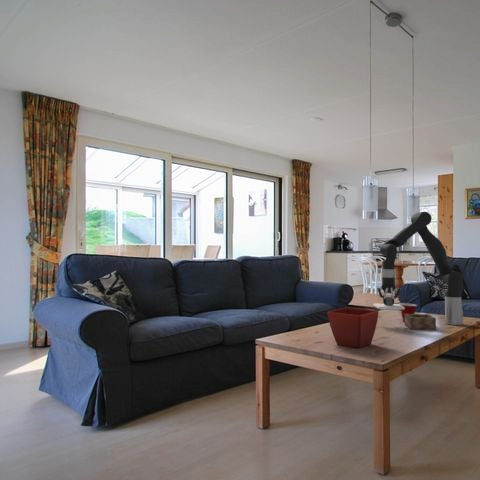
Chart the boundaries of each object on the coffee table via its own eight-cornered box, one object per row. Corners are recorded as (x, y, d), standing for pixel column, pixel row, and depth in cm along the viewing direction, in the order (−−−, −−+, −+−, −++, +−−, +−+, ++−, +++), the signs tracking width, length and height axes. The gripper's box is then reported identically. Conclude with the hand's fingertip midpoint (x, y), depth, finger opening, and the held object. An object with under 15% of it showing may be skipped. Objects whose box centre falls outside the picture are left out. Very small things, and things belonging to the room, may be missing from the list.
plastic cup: (420, 323, 265) (419, 304, 265) (403, 323, 265) (402, 304, 265) (413, 320, 275) (413, 302, 276) (396, 320, 276) (396, 302, 276)
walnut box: (428, 325, 258) (428, 314, 258) (436, 330, 244) (435, 318, 244) (404, 325, 260) (404, 313, 260) (411, 329, 246) (411, 317, 246)
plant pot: (326, 344, 211) (326, 311, 211) (346, 338, 225) (346, 307, 225) (360, 351, 198) (360, 315, 198) (380, 344, 211) (379, 310, 211)
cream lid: (398, 307, 261) (398, 295, 261) (404, 310, 246) (404, 298, 246) (373, 306, 263) (373, 295, 263) (378, 310, 248) (378, 298, 248)
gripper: (399, 276, 258) (399, 304, 257) (375, 276, 259) (375, 303, 259) (402, 277, 250) (402, 305, 250) (377, 276, 252) (377, 305, 252)
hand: (388, 304), depth 255 cm, fingers closed on cream lid, 3 cm apart
